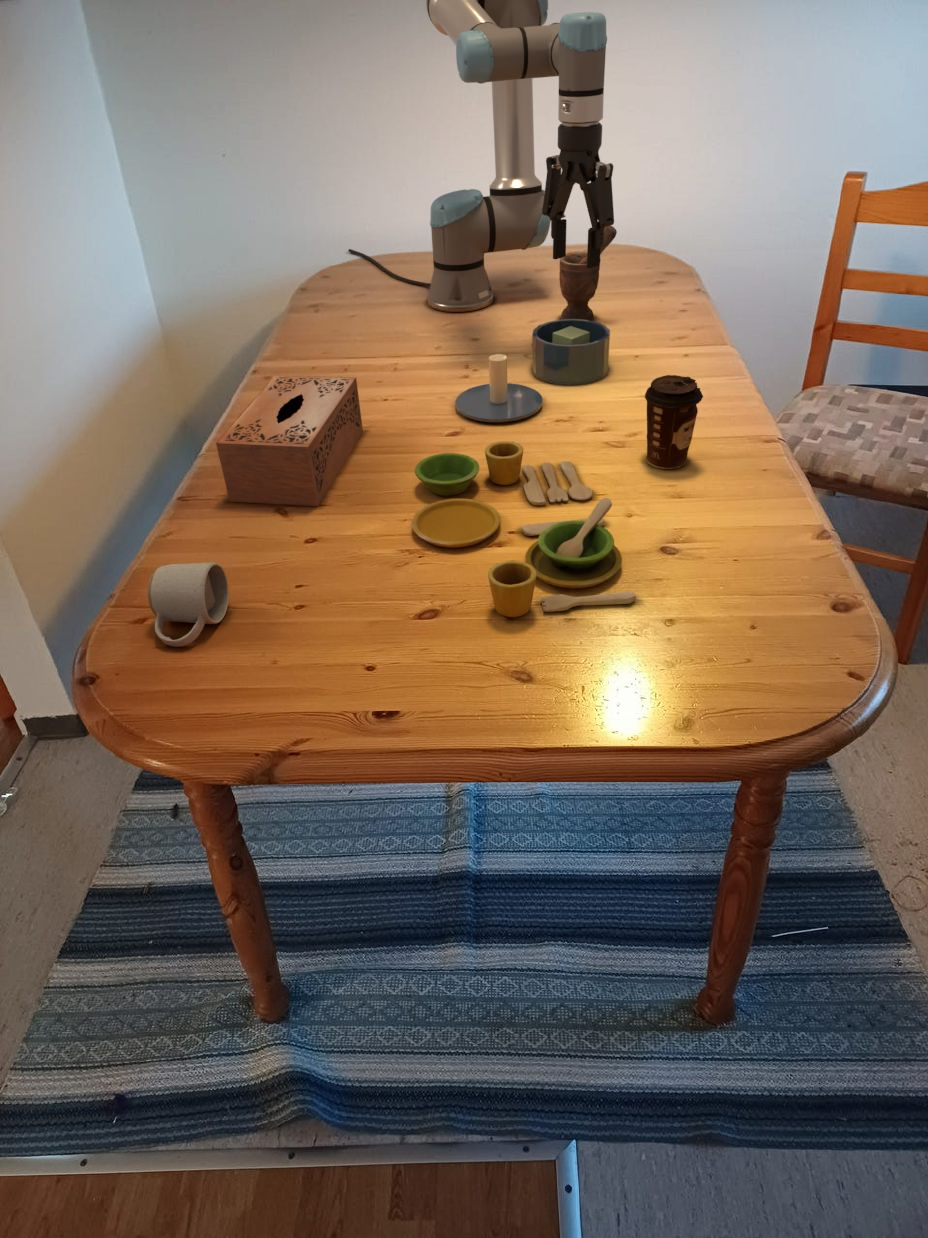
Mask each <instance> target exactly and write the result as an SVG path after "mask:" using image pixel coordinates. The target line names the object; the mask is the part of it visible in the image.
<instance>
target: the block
mask: <svg viewBox="0 0 928 1238" xmlns="http://www.w3.org/2000/svg"><path fill="white" fill-rule="evenodd" d="M589 339H590V332H588V331H585V330H582V329H578V328H575V327H572V326H569V327H567V328H564V329H562V330H559V331H556V332H554V333H553V343H554V344H562V345H579V344H587V343H589Z"/></svg>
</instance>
